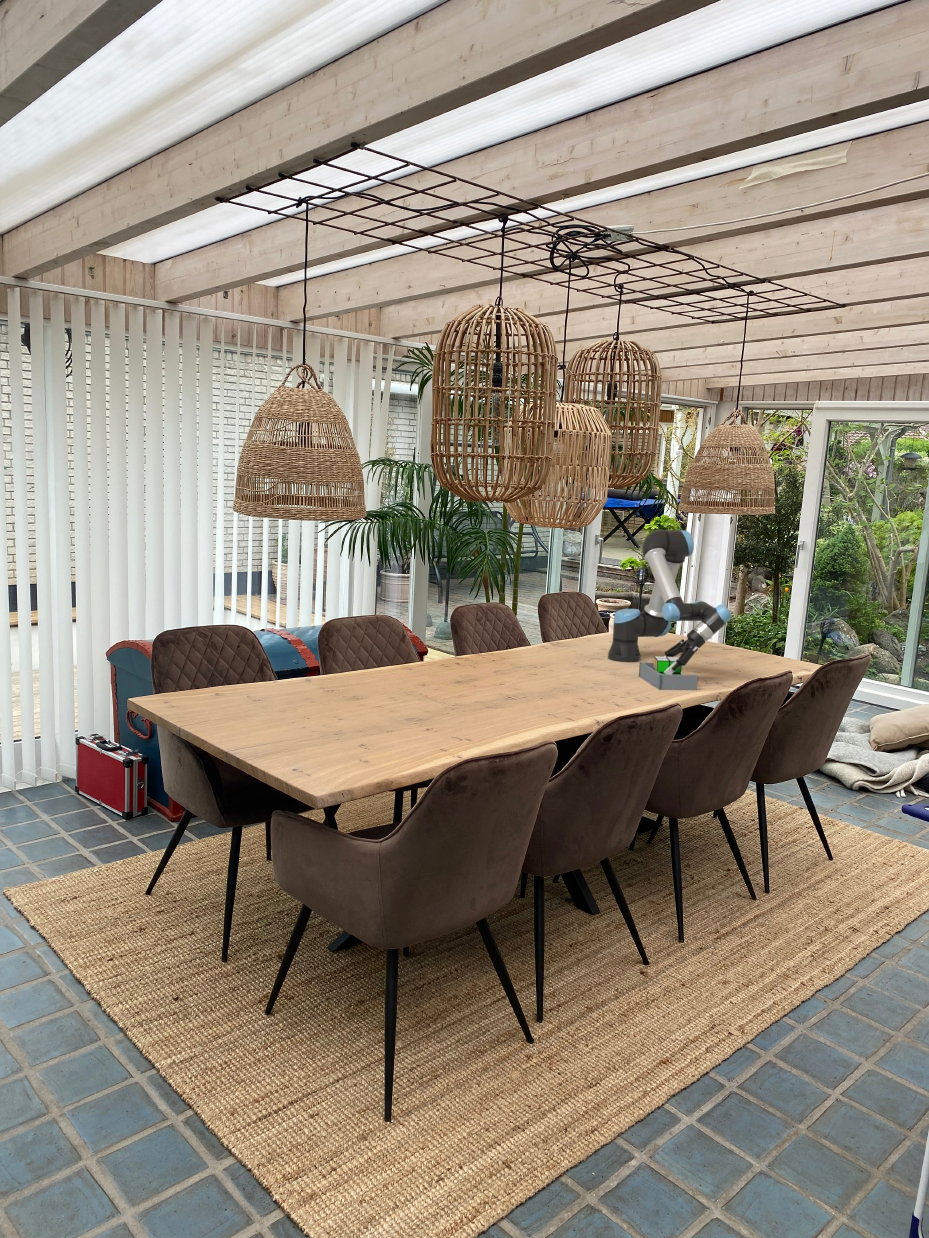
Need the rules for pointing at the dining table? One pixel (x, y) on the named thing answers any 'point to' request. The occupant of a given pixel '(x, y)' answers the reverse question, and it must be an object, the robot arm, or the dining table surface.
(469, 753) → the dining table surface
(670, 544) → the robot arm
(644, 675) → the grey u-shaped wall
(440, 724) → the dining table surface
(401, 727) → the dining table surface
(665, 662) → the puzzle cube
